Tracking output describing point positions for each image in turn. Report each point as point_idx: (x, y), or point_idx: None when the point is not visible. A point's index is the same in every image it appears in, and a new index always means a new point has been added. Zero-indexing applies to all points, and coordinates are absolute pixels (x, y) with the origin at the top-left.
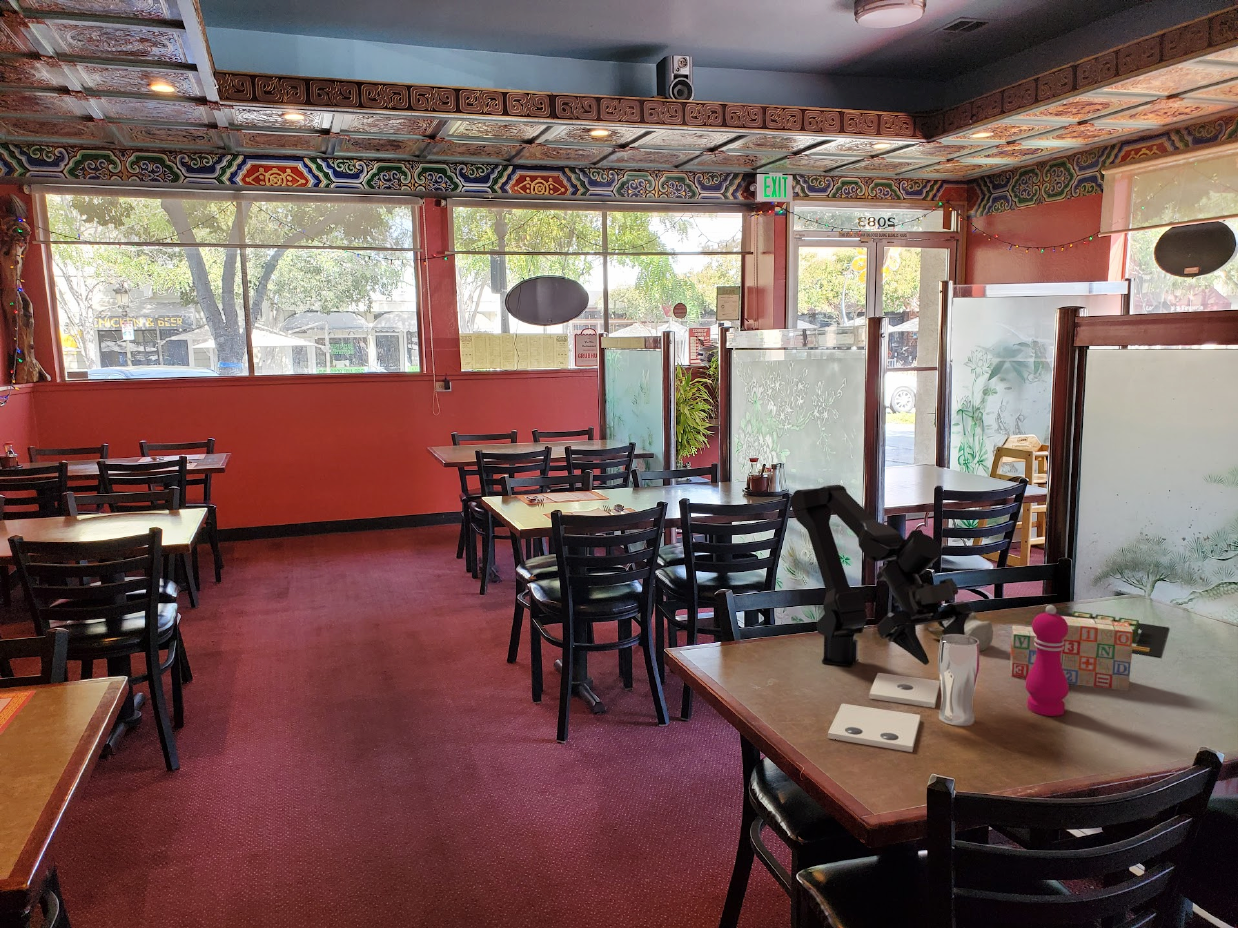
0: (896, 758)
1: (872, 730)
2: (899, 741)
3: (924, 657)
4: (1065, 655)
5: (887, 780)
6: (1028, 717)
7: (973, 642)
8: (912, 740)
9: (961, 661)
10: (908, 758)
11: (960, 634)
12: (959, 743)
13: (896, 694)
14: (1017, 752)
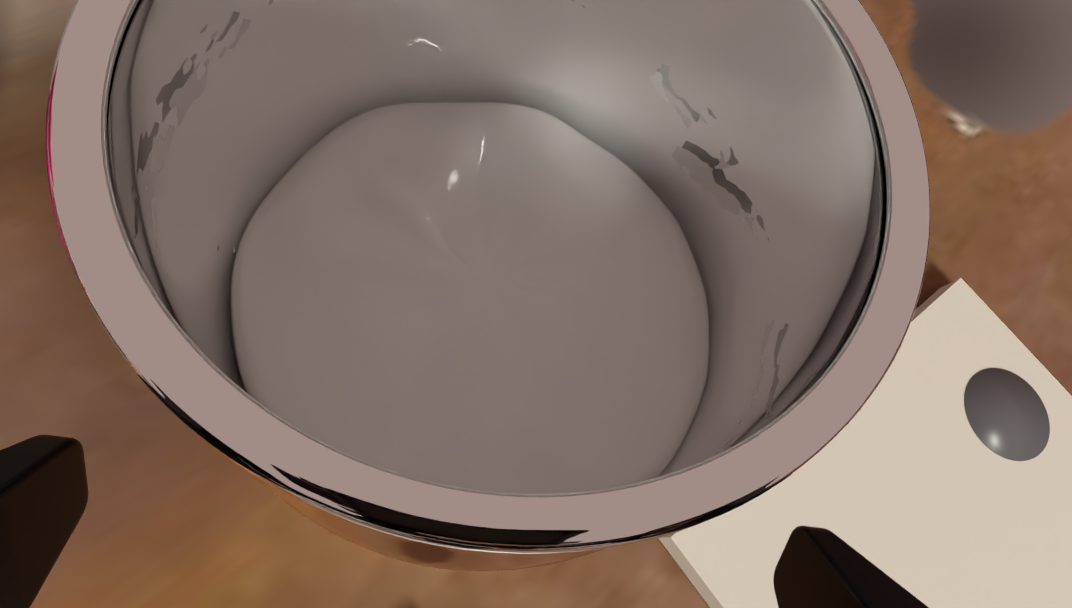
0: (1031, 286)
1: (1054, 519)
2: (988, 345)
3: (887, 576)
4: None
5: None
6: (53, 212)
7: (155, 66)
8: (922, 320)
9: (672, 93)
10: (985, 259)
11: (118, 302)
12: None
13: None
14: None
